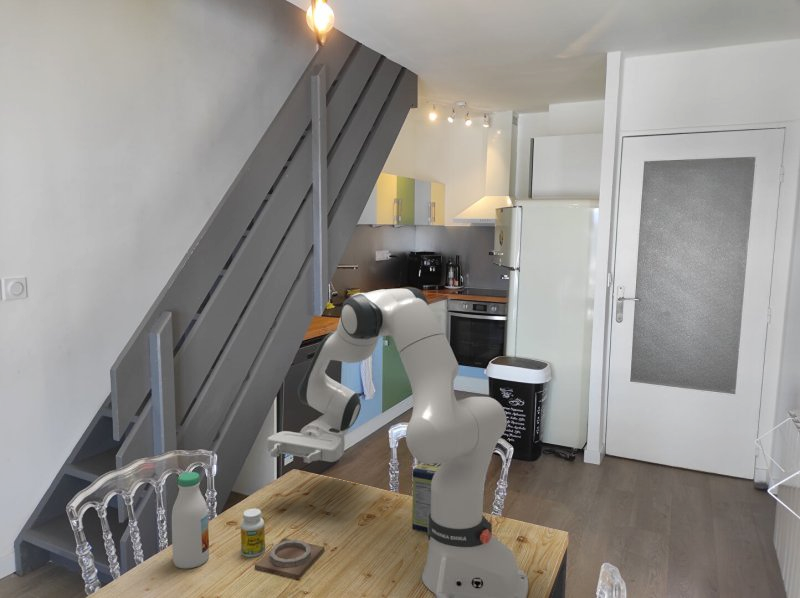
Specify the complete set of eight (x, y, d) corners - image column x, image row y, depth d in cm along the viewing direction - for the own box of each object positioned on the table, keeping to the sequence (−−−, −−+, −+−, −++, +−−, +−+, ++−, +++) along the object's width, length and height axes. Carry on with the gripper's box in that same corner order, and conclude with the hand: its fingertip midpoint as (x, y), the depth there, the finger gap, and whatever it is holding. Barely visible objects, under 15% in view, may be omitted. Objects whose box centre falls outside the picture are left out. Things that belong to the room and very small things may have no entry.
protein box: (468, 510, 154) (469, 455, 152) (450, 538, 140) (452, 477, 138) (431, 503, 158) (432, 449, 156) (411, 529, 144) (411, 470, 142)
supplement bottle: (260, 542, 137) (259, 504, 136) (268, 553, 132) (267, 513, 131) (238, 549, 134) (237, 510, 133) (245, 560, 129) (244, 520, 128)
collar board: (324, 550, 133) (324, 541, 133) (298, 579, 122) (298, 569, 122) (283, 542, 137) (283, 533, 137) (254, 569, 126) (254, 559, 126)
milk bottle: (194, 572, 124) (191, 485, 122) (165, 566, 127) (162, 479, 125) (216, 554, 132) (214, 471, 129) (188, 548, 134) (186, 466, 132)
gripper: (282, 422, 159) (253, 439, 146) (349, 432, 152) (325, 451, 139) (282, 444, 160) (254, 462, 147) (349, 455, 153) (325, 475, 140)
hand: (289, 457), depth 143 cm, fingers open, 8 cm apart
